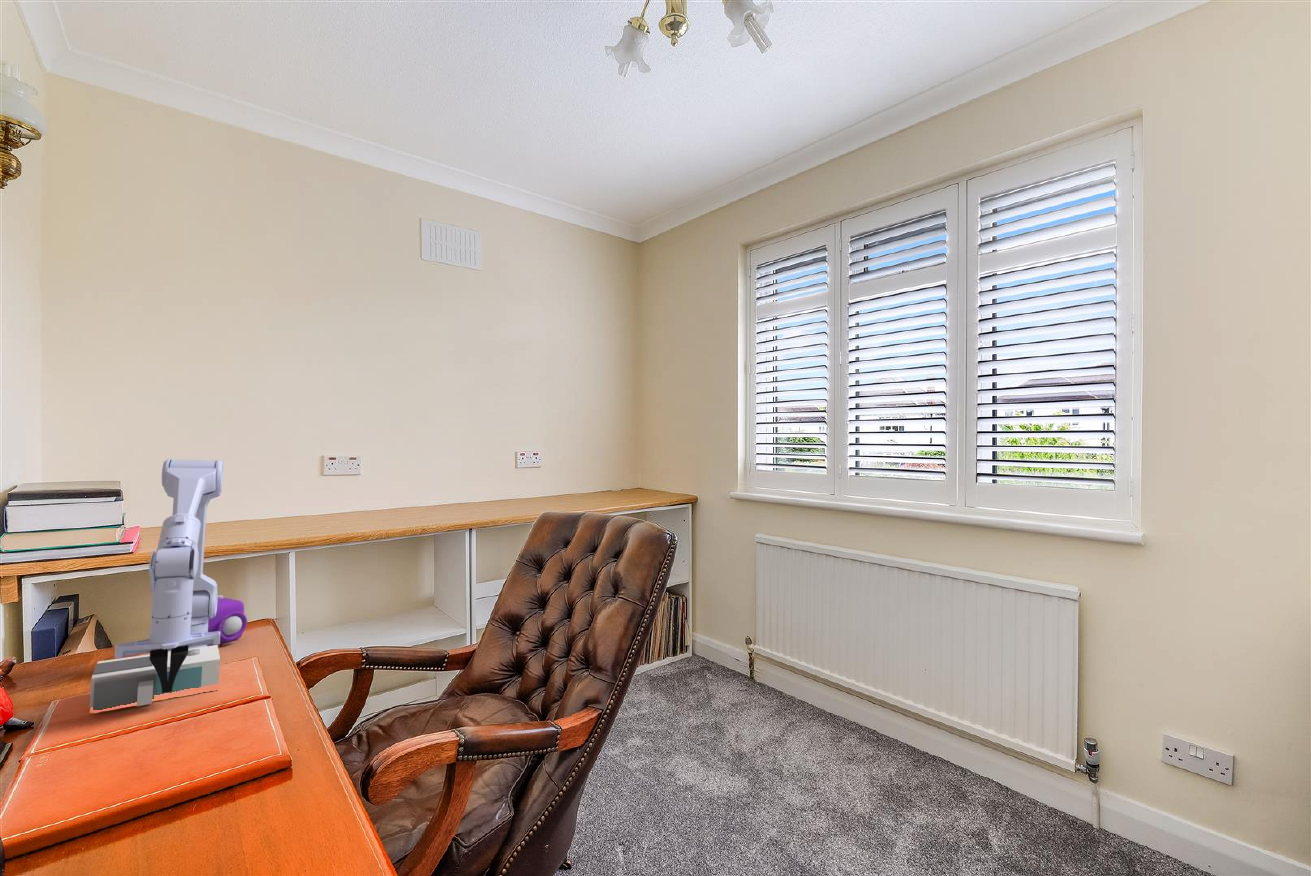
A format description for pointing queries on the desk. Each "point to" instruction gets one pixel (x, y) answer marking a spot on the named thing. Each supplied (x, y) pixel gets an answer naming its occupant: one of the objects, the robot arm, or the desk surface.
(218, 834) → the desk surface
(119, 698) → the side door
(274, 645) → the desk surface
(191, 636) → the robot arm
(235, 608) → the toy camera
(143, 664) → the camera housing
